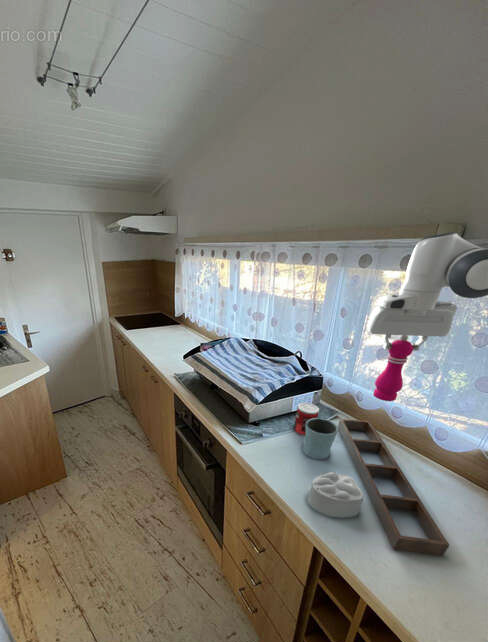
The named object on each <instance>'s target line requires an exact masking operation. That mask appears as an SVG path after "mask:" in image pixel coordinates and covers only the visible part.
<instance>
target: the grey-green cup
mask: <svg viewBox="0 0 488 642" xmlns="http://www.w3.org/2000/svg"><path fill="white" fill-rule="evenodd" d="M338 432H339V429H338V425H337V424H336V423H334V422H333V421H331V420H329V419H326V418H322V417H318V418H312V419H310V420H308V421H307V422H306V432H305V433H306V435H304V439H303V448H302V451H303V453H304V454H305V455H306V456H308V457H310V458H312V459H315V460H324V459H327V458H328V457H329V456H330V454H331V453H330V452H331V448H332V446H333V444H334V442H335V438H336V435H337V433H338Z"/></svg>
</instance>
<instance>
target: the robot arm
mask: <svg viewBox="0 0 488 642" xmlns="http://www.w3.org/2000/svg"><path fill="white" fill-rule="evenodd" d="M409 258H410V259H409V261H408V264H407V268H406V271H405V280H404V282H403V283H402V285H401V287H400V290H399V291H397V292H394V293H390V294H387V295H384V296H380V297H379V298H378V299H377V305H378V306H376V307H374V309H373V310H372V312H371V314H370V316H369V320H368V322H367V326H366V329H367V331H368V333H370V334H371V335H382V336H381V337H382V339H383V342H384V344H383V347H382V348H383V350H386V351H388V350H391V347H392V344H391V343H392V342H390V339H391V337H392V336H403V335H407V336H408V337H409V336H412V337H413V336H417V337H418V339H417V340H416V341H415V342H413V343H411V344H412V345H413V351H414V352H418V351H419V350H420V348H421V346H422V345H423V344H425V342H426V341H427V340H428V338H429V337H438V338H439V337H440V338H442V337H443V338H444V337H446V336H447V335H449V333H450V331H451V329H452V326H453V320H454V316H455V314H456V312H457V310H458V306H457V304H456V303H454V301H441V300H440V301H439V300H438V299H439V296H440V294H441V292H442V289H443V288H445V287H446V288H448V287H449V288H450V289H451V291H452V292H453V293H454V294H455V295H456V296H459V297H461V298H465V299H478V298H483V297H487V296H488V248H484V247H481V246H478V245H476V244H473V243H472V242H469V241H467V240H466V239H465V238H463V237H461V236H460V235H459V234H458V233H457V232H455V231H454V232H453V231H448V232H442V233H436V234H431V235H427V236H425V237H423V238H422V239H420V240H419V241H418V242H417V243H416V245H415V247H414V248H413V251H412V253H411V255H410V257H409Z"/></svg>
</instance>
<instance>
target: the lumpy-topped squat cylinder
mask: <svg viewBox="0 0 488 642" xmlns="http://www.w3.org/2000/svg"><path fill="white" fill-rule="evenodd" d="M357 483H358V482H357V481H356V480H355V479H354V478H353V477H351V476H349V475H346V474H340V473H336V472H333V471H330V472H327V473H325V474H324V473H323V474H321V475H319V476H317V477H315V478H314V479H313V481H312V482H311V485H310V490H309V493H308V498H307V503H308V504H309V506H310V507H311V508H312V509H314V510H315V511H317V512H318V513H320V514H322V515H325V516H328V517H331V518H353V517H356V516H357V515H358V514H359V512H360V510H361V507H362V504H363V501H364V498H365V494H364V492H363V491H362V489H361V488H360V487H359V486H358V484H357Z"/></svg>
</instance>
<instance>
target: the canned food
mask: <svg viewBox="0 0 488 642" xmlns="http://www.w3.org/2000/svg"><path fill="white" fill-rule="evenodd" d="M319 413H320V407H318V406H317V405H316V404H314V403H311V402H301V403H299V404H298V405H297V407H296V412H295V419H294V425H293V429H294V431H295V432H296V433H297V434H299V435H302V436H305V435H306V433H305V432H306V422H307V421H308V420H310V419H312V418H319Z"/></svg>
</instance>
